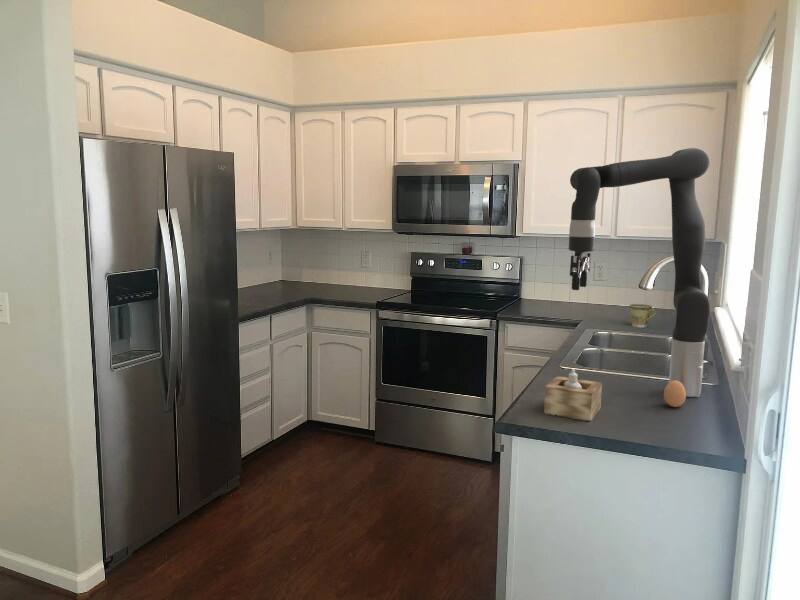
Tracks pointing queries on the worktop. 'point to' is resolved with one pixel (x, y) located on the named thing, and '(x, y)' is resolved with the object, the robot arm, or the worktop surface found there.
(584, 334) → the worktop surface
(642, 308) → the ceramic cup
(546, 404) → the box
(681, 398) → the egg
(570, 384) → the eye dropper bottle
